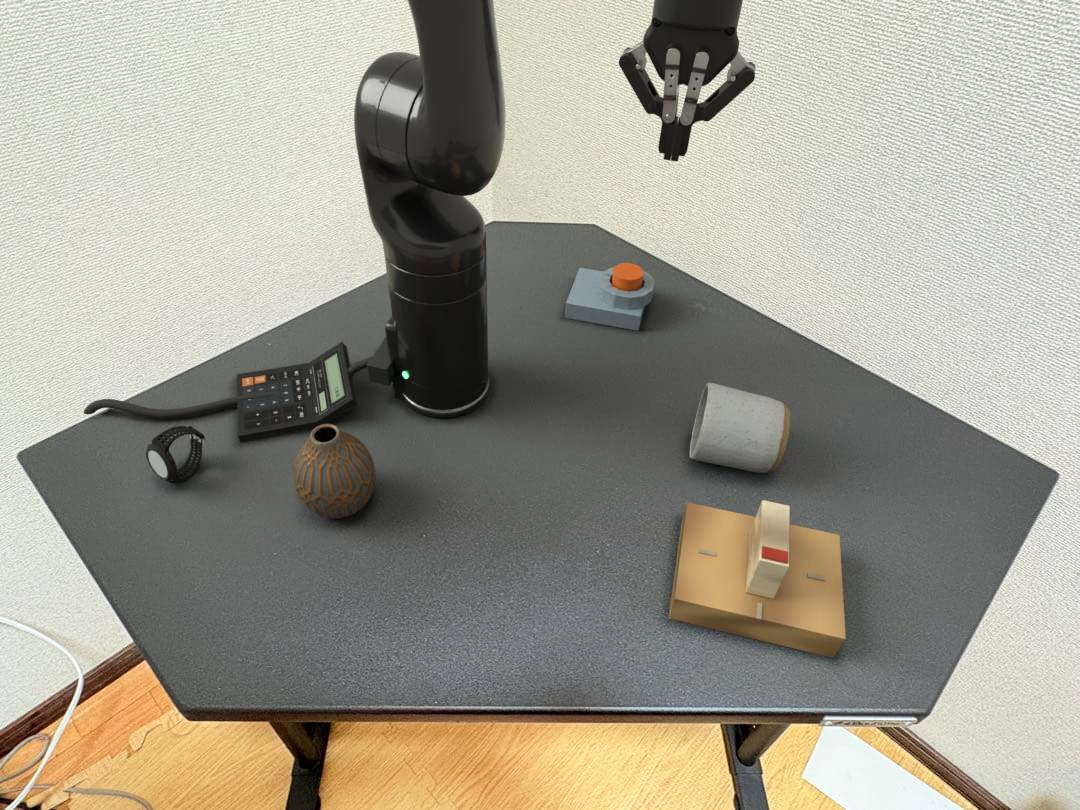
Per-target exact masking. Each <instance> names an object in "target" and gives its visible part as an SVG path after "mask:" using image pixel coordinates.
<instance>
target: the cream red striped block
mask: <svg viewBox="0 0 1080 810" xmlns="http://www.w3.org/2000/svg"><path fill="white" fill-rule="evenodd" d="M790 513H791V506H790V505H787V504H782V503H779V502H775V501H771V500H765V499H762V500H761V503H760V505H759V507H758V510H757V512H756V514H755V516H754V517H755V520H754V523H753V525H752V528H751V530H750V533H749V545H748V561H747V576H746V592H747V593H751V594H755V595H759V596H763V597H767V598H772V599H774V597H775V595H776V592H777V590H778V588H779V586H780V584H781V582H782V580H783V578H784V576H785V574H786V572H787V570H788V568H789V534H790V524H791V522H790V521H791V514H790Z"/></svg>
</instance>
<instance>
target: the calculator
mask: <svg viewBox="0 0 1080 810" xmlns="http://www.w3.org/2000/svg"><path fill="white" fill-rule="evenodd" d="M350 361H351V360H350V355H349V351H348V346H347V345H346V344H345V343H344V342H343V341H341V342H339V343H337V344H336V345H334V346H333V347H331V348H329V349H328V350H326V351H325V352H324V353H322V354H320V355H318V356H317V357H315V358H314V359H312V360H311V361H308V362H306V363H299V364H294V365H287V366H281V367H275V368H267V369H262V370H255V371H249V372H244V373H243V372H242V373H237V374H236V397H237V396H242V395H248V394H254V393H263V392H277V393H281V394H280V395H276V396H270V397H264V398H256V399H249V400H244V401H239V402H237V437H238V440H239V442H240V443H243V442H249V441H254V440H259V439H265V438H271V437H276V436H281V435H287V434H292V433H298V432H304V431H309V430H314V429H315V428H316V427H317V426H320V425H323V424H328V423H329V422H331V421H332V420H334V419H335V418H337V417H339V416H340V415H342V414H344V413H345V412H347V411H349V410H351V409H352V408H353V407H356V406H357V405H358V404H359V402H358V398H357V393H356V389H355V387H356V386H355V383H354V376H353V377H352V376H351V375H350V374H349V372H348V370H347V369H348V368H349V367H350V366H351V362H350Z"/></svg>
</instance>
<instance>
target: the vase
mask: <svg viewBox="0 0 1080 810" xmlns="http://www.w3.org/2000/svg"><path fill="white" fill-rule="evenodd" d="M368 449H369V448H367V447H366V445H365V443H364V442H362V441H361V440H360V439H359V438H358V437H356V436H354V434H351V433H349V432H346V431H344V430H341V429H340V428H339V427H338V426H337V425H335V424H332V423H326V424H323V425H320V426H317V427H316V428H315V429H312V430H311V432H310V434H309V437H308V438H307V439H306V440H305V441H304V443H303V444H302V445H301V446H300V447H299V449H298V451H297V452H296V456H295V458H294V462H293V470H292V477H293V484H294V487H295V490H296V493H297V495H298V497H299V499H300V501H301V502H302V503H303V504H304V506H305V507H307V509H309V510H310V512H312V513H314V514H315V515H318V516H320V517H323V518H327V519H335V520H336V519H344V518H347V517H351V516H352V515H354V514H356V513H358V512H359V511H360V510H361V509H363V508H364V507H365V506H366V505H367V503H368V502H369V501H370V499H371V497H372V495H373V493H374V489H375V485H376V478H377V477H376V467H375V463H374V458H373V457H372V454H371V452H370V451H369V450H368Z"/></svg>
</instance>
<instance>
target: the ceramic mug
mask: <svg viewBox="0 0 1080 810" xmlns="http://www.w3.org/2000/svg"><path fill="white" fill-rule="evenodd" d="M790 428H791V412H790V409H789V407H788V406H787V404H785V403H784V402H782V401H780V400H777V399H775V398H772V397H769V396H767V395H766V396H765V395H762V394H757V393H753V392H748V391H744V390H740V389H738V388H734V387H729V386H726V385H722V384H718V383H714V382H707V383H706V384H705V386H704V387H703V390H702V393H701V395H700V399H699V403H698V407H697V411H696V415H695V419H694V422H693V428H692V433H691V440H690V445H689V458H690V459H691V460H693V461H698V462H702V463H708V464H712V465H717V466H723V467H728V468H734V469H738V470H743V471H747V472H753V473H764V474H765V473H771V472H773V471H774V470H776V469H777V468H778V467H779V465H780V463H781V461H782V459H783V457H784V454H785V451H786V447H787V445H788V440H789V436H790V435H789V434H790V430H791V429H790Z"/></svg>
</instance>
